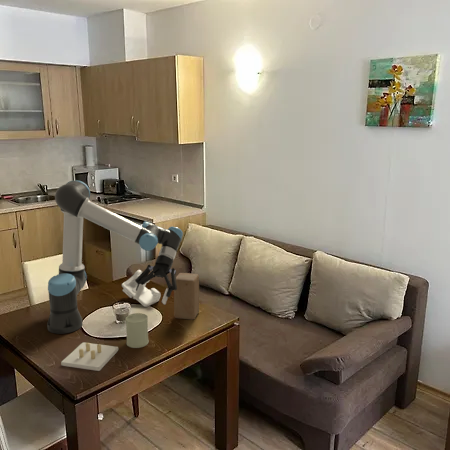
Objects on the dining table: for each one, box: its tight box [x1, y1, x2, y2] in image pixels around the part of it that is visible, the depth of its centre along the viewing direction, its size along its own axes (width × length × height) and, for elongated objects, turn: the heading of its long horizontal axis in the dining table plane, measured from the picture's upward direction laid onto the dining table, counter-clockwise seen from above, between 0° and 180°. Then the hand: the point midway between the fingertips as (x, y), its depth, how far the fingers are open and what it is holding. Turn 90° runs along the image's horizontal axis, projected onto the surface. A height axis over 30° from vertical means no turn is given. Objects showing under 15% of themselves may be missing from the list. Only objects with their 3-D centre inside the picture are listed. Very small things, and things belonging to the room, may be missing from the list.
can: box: [125, 312, 150, 349], centre depth 194 cm, size 9×9×12 cm
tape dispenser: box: [121, 269, 162, 308], centre depth 238 cm, size 20×11×13 cm, turn 58°
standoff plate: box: [60, 341, 119, 372], centre depth 183 cm, size 16×16×4 cm
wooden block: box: [173, 272, 200, 320], centre depth 220 cm, size 10×10×20 cm
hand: (149, 300), depth 201 cm, fingers open, 13 cm apart
